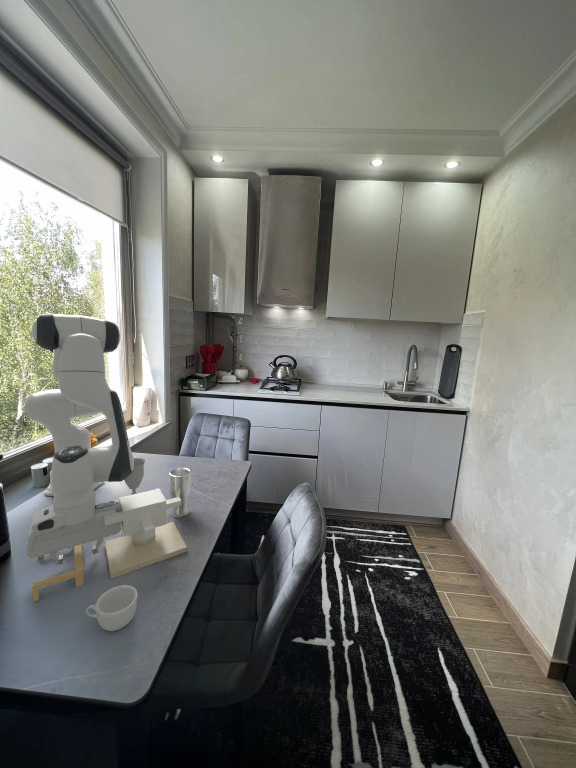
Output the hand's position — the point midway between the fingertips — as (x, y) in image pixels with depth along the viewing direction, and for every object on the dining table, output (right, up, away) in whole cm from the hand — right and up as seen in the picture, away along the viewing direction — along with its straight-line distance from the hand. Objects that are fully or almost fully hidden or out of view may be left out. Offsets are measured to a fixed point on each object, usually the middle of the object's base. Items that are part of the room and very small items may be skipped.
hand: (78, 557), depth 83 cm
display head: (+15, -1, +7) cm, 16 cm away
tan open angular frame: (-3, -2, -2) cm, 4 cm away
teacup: (+17, -6, -15) cm, 24 cm away
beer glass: (+18, +1, +25) cm, 31 cm away
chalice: (+3, +2, +24) cm, 24 cm away
